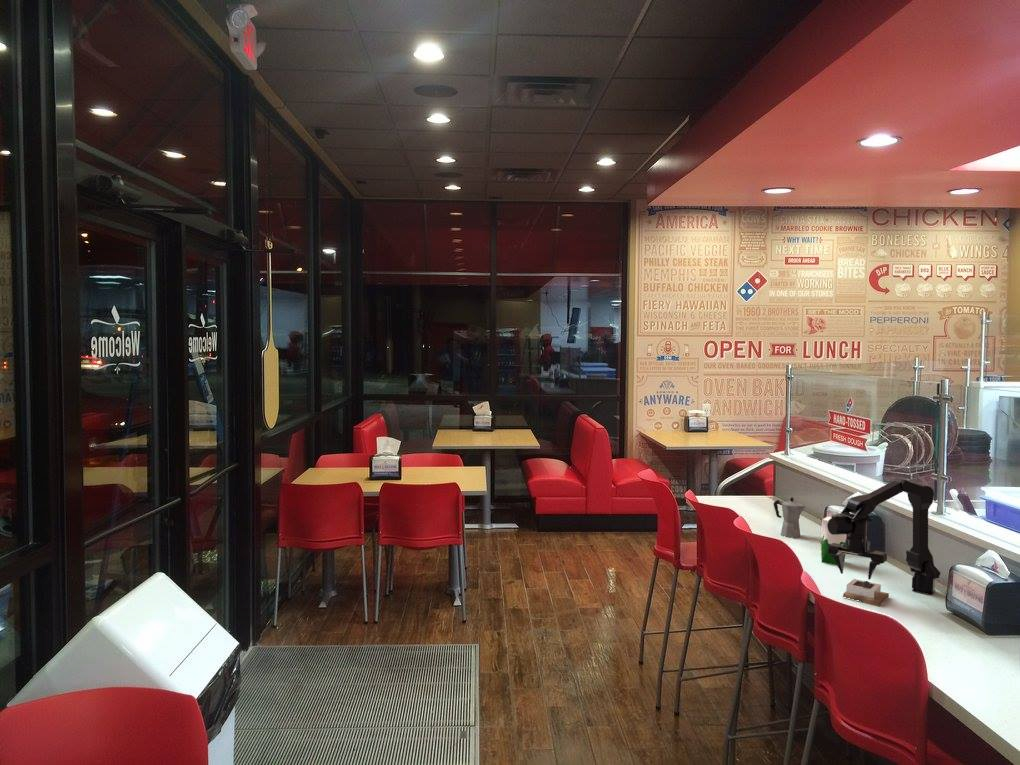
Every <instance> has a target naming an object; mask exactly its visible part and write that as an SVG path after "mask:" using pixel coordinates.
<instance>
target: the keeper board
mask: <svg viewBox="0 0 1020 765" xmlns="http://www.w3.org/2000/svg"><path fill="white" fill-rule="evenodd" d="M863 581H864V582H863V587H865V588H869V589H870V583H869V582H870V581H869V580H863ZM843 597H846V598H850V599H854V600H859V601H861V602H860V603H863V602H865V603H864V604H867V603H868V605H872V604H873V605H872V606H877V607H881V606H882V605H883V604H884V603H885V602H886V601H887V600H888V599H887V598H888V597H890V593H889V592H884V591H881V592H880V594H879V595H878V596H877V597H876V598H875V599H870V598H866V597H861V596H857V595H852V594H848V593H846V591H844V592H843V595H842V598H843ZM846 598H845V599H846ZM850 599H849V600H850ZM886 599H887V600H886ZM854 600H853V601H854ZM885 600H886V601H885ZM859 601H858V602H859ZM884 601H885V602H884ZM883 602H884V603H883ZM882 603H883V604H882ZM881 604H882V605H881ZM880 605H881V606H880Z"/></svg>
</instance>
